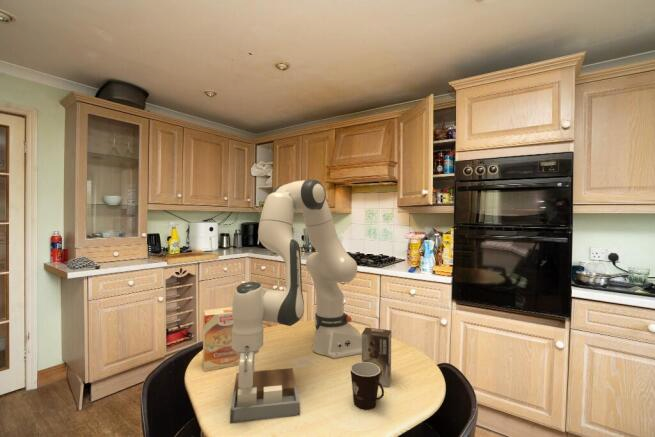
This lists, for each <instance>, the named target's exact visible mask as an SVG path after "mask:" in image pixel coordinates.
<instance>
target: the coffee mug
mask: <svg viewBox="0 0 655 437" xmlns="http://www.w3.org/2000/svg"><path fill="white" fill-rule="evenodd" d="M349 369H350V378H351V380H350V381H351V387H352V388H351V389H352V399H353V404H354V406H355V407H356V409H359V410H362V409H363V411H370V410H373V409H375V407H376V405H377V401H378V400H381V399H383V397H384V395H385V390H384V386H382V385H381V384H380V383H379V378H380V368H379V367H378V366H377V365H375V364H373V363H369V362H362V361H358V362H354V363H352V365H350V368H349ZM379 388H380V390H381V395H380V396H378V393H379V392H378V391H379Z"/></svg>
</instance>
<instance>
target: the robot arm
mask: <svg viewBox="0 0 655 437" xmlns="http://www.w3.org/2000/svg"><path fill="white" fill-rule="evenodd" d="M326 194H327V193H326V189H325V187H324V185H323V184H322V183H321V182H320V180H317V179H306V180H305V179H304V180H295V181H292V182H289V183H286V184H281V185H278V186H277V187H275V188H274V189H273V190H272V192H271V193H269V194H268V195H267V197H266V199H265V200H264V204H263V206H262V210H261V214H260V217H259V218H260V219H259V223H258V229H257V234H258V240H259V242H260V243H261V245H262V246H263V247H265V248H266V249H267V250H269V251H271V252H272V253H274V254H276V255H278V256H279V257H280V258H282V259H283V261H284V265H285V290H281V289H271V288H265V287H263V286H262V284H261V283H260V282H257V281H248V282H243V283H241V284H239V285H238V286H236V287H235V289H234V294H233V296H232V297H233V299H232V306H231V307H232V317H233V322H234V324H233V328H232V349H233V350H235V351H236V353H237V354H238V355H239V356H240V360H239V365H238V373H239V379H238V387H239V389H240V390H242V389H251V388H252V387H253V375H254V371H255V355H257V354H258V353H259V351H260V349H262V347H263V346H264V324H263V321H265V322H269V323H270V322H271V323H277V324H280V325H284V326H289V327H292V326H293V325H295V324H297V323H298V322H300V320H301V319H302V318H303V316H304V311H305V301H304V296H303V284H302V283H303V282H302V280H303V279H302V278H303V277H302V256H301V255H302V254H301V248H300V244H299V242H298V241H297V240H296V239H295V238H294V234H293V225H294V216H295V215H294V214H295V213H302V216H303V220H304V222H303V223H304V225H305V229H306V232H307V237H308V240H309V244H310V245H311V246H312V247H313V248H314V250H316V251H315V252H312V253H310V254H309V255H308V256H307V258H306V261H305V266H306V270H307V272H308V273H309V274H310V277H311V279H312V282H313V285H314V289H315V296H316V301H315V302H316V311H315V316H314V326H315V330H314V331H315V332H314V338H313V343H312V346H311V349H312V351H313V352H315V353H316V354H318V355H322V356H327V357H329V358H332V359H338V358H343V357H344V358H345V357H349V356H350V357H351V356H355V355H362V334H361V333H360V331H359V330H358V329H357V328H356V327H355V326H354V325H352V324H351V322H352V317H351V316H350V315H348V314H347V313H345V311H344V303H345V301H344V299H345V298H344V297H345V296H344V293H343V292H342V289H341V288H340V287H339V284H338V283H350V282H352V281H353V280H354V279H355V278H356V275H357V274H358V265H357V262H356V260H355V259H354V258H353V257H352V256H351V255H350V254H348V252H347V251H346V249H345V248H344V246H343V244H342V243H341V241H340V239H339V236H338V233H337V231H336V226H335V223H334V219H333V216H332V215H333V214H332V212H331V210H330V206H329V204H328V201H327V200H326Z"/></svg>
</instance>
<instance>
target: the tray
mask: <svg viewBox="0 0 655 437" xmlns="http://www.w3.org/2000/svg"><path fill="white" fill-rule="evenodd" d="M299 397H300V396H299V391H298V387H297V385H296V386H294V396H285V397H282V403H272V404H264V399H257V405H253V406H244V407H237V401H236V392H234V391H233V392H232V398H231V404H230V412H229V417H230V418H229V423H230V424H236V423H243V422H244V423H245V422H253V421H261V420H269V419H278V418H285V417H287V418H288V417H296V416H300V415H301V414H300V412H301V410H300V409H301V407H300V404H301V403H300V402H301V401H300V399H299Z"/></svg>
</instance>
